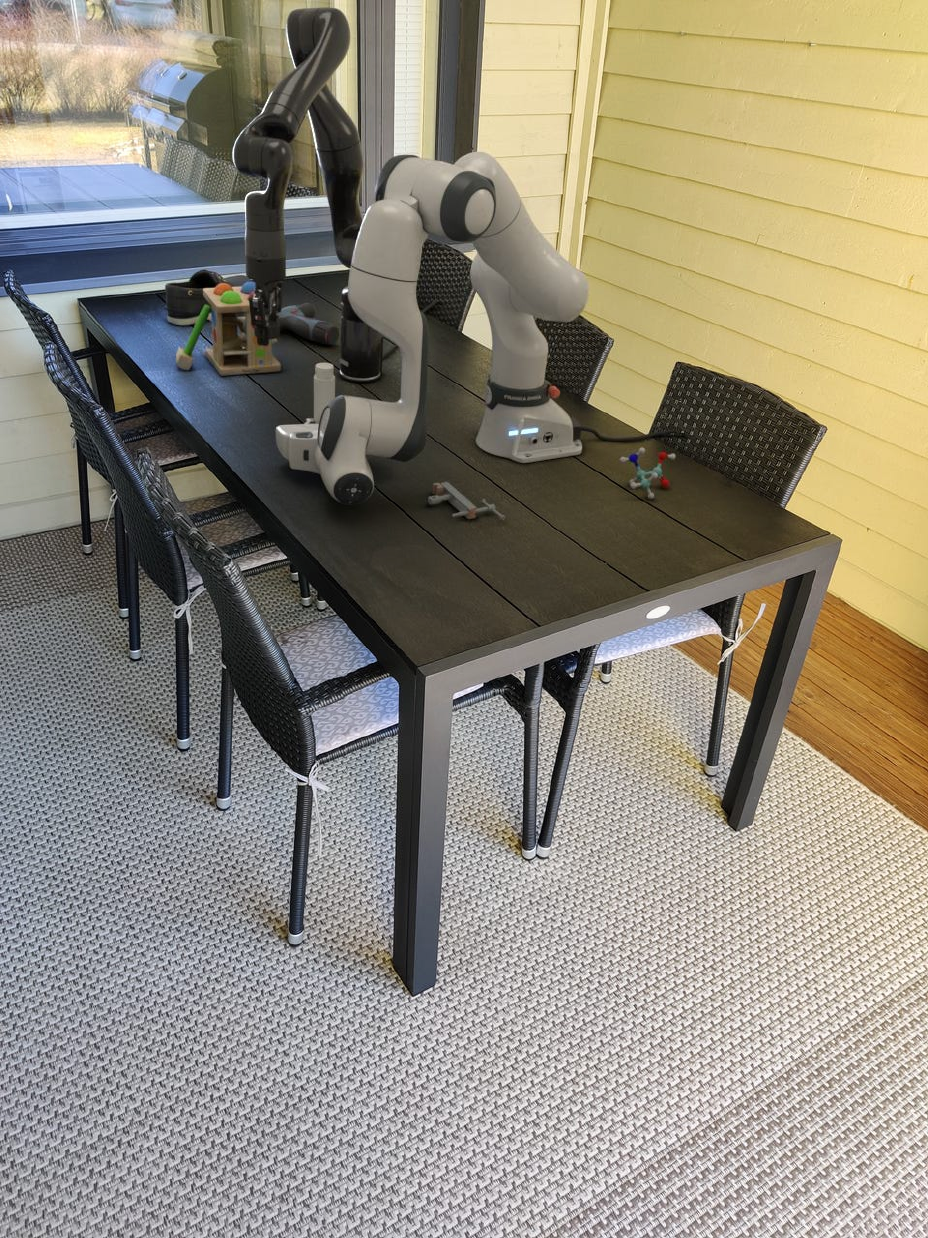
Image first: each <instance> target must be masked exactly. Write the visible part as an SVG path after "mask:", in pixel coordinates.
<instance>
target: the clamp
mask: <svg viewBox="0 0 928 1238" xmlns="http://www.w3.org/2000/svg"><path fill="white" fill-rule="evenodd" d="M432 494H433V495H431V496H428V497H427V499H428V500H427V502H428V504H429V505H438V504H441V503H442V502H444V501H445V502H446V501H447V502H449V504H451V505H452V506H453V508H455V509H456V510H457V511H459V512H455V513H452V514H451V517H452V518H455V517H456V518H457V517H463V516H464V517H465V518H466V519H468V520H472V519H476V517H477V515H476V514H479V513H484V512H487V513H491V512H493V513H494V514H495V515H497V516H498V517H499V519H500V520H501V521H504V520H506V516H505V515H504V514H501V513H500V512H499V511H498V510H497V509H496V508H497V507H496V505H495V504H494V503H491V504H490V503H488V502H487V501H486V499H485V498H483V499H481V501H480V504H481V505H484V506H483V507H478V508H477V506H476V505H475V504H473V502H472V501H470V500H469V499H468V498H467V497H465V495H463V494H462V493H461V492H460V491H458V489H456V487H454V486H453V485H451V483H450V482H449V481H442V482H434V483H432Z"/></svg>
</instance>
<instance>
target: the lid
mask: <svg viewBox="0 0 928 1238" xmlns="http://www.w3.org/2000/svg"><path fill="white" fill-rule="evenodd" d="M268 327H269V340H271V339H278V338H280V336H281V331H280V326H279V323H278V322H276V321H272V320H269V326H268ZM254 334H255V336H256V337H257V326H254Z"/></svg>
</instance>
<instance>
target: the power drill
mask: <svg viewBox="0 0 928 1238" xmlns="http://www.w3.org/2000/svg"><path fill="white" fill-rule="evenodd" d="M281 309H282V310H281V312H279V317H278V318H276V319H277V322H278V323H279V326H280V332H282V331H286V330H290V331H292V332H293V333H295V334H296V335H298V336H300V337H302V338H305V339H307V340H309V341H313V342H316V343H319V344H323V345H327V346H333V345H335V344H336V343H337V342H338V340H339V337H340V330H339V328H338V326H336V325H334V324H333V323H332V324H331V323H329V322H328V321H323V320H321V319H317V318H314V317H315V315H316V308H315V306H314V305H313V304H312V303H311V302H305V303H300V304H295V305H294V304H293V305H289V306H285V307H283V308H282V307H281Z"/></svg>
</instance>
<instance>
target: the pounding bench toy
mask: <svg viewBox="0 0 928 1238" xmlns="http://www.w3.org/2000/svg"><path fill="white" fill-rule="evenodd" d="M254 288H255V282H254V281H252V282H247V283H245V284H244V285H243V286H242V287H231V286H230V285H228V284H226V283H221V284H218V285H217V286H216V287H215V288H204V289H203V296H204V297H205V299H206V300H207V301H208V302H209V304H210V305H211V307H210V306H208V305H204V307H203V309H202V311H201V314H200V316H199V318H198V320H197V322H196V323H195V324H194V327H193V329H192V331H191V332H190V333H191V334H190V336H189V338H188V340H187V343H186V344H185V347H184V348H182V347H180V346H179V347H178V349H177V351H176V354H175V357H174V358H175V362H176V365H177V366H178V368H179V369H182V370H185V371H189V370H190V369H191V367H192V365H193V363H194V356H193V351H194V348H195V347H196V345H197V342H198V340H199V337H200V336H201V333H202V332H203V329H204V326H205V325H206V322H207V321H210V322H211V336H212V337H211V338H212V339H211V340H212V348H205V349H204V352H205V353H204V355H205V357H206V359H208V361H209V363H210V364H211V365H212V366H213V367H214V369H215V370H216V371H217V372H218V374H219V375H220V376H222V377H223V376H234V375H235V376H236V375H246V374H247V375H250V374H262V373H275V372H281V370H282V364H281V363H280V362H279V360H278V359H277V358H276V357H275V356H274V355H273V348H272V347H273V345H272V344H276V343H278V342H279V341H278V338H276V339H271V340H269V345H267V346H261V345H258V344H257V337H256V336H255V334H254V326H253V325H252V322H251V314H250V306H249V297H253V290H254ZM210 310H211V314H209V312H210ZM238 313H244V314H245V315H244V316H238ZM207 318H209V320H207ZM259 320H261V317H260V318H259ZM238 329H239V331H240V333H239V334H238Z"/></svg>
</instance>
